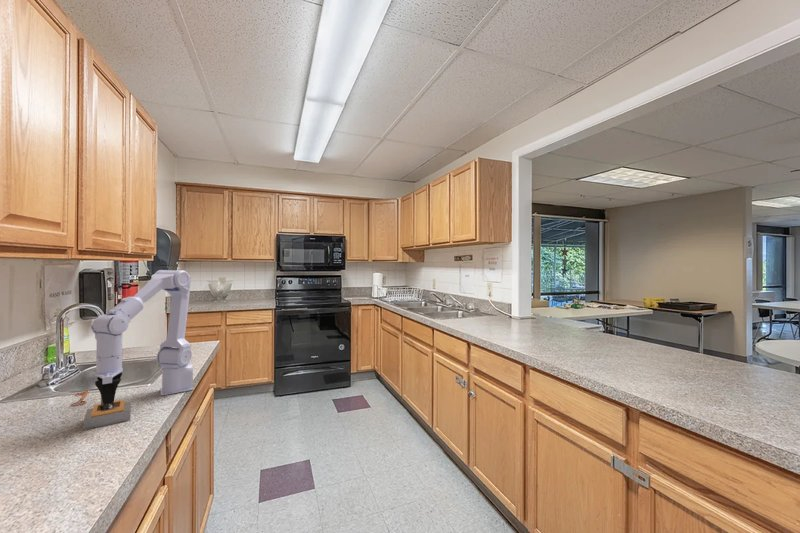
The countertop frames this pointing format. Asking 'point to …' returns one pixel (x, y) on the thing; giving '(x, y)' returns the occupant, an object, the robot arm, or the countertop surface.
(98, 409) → the chuck block
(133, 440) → the countertop surface
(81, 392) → the key
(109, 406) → the peg
